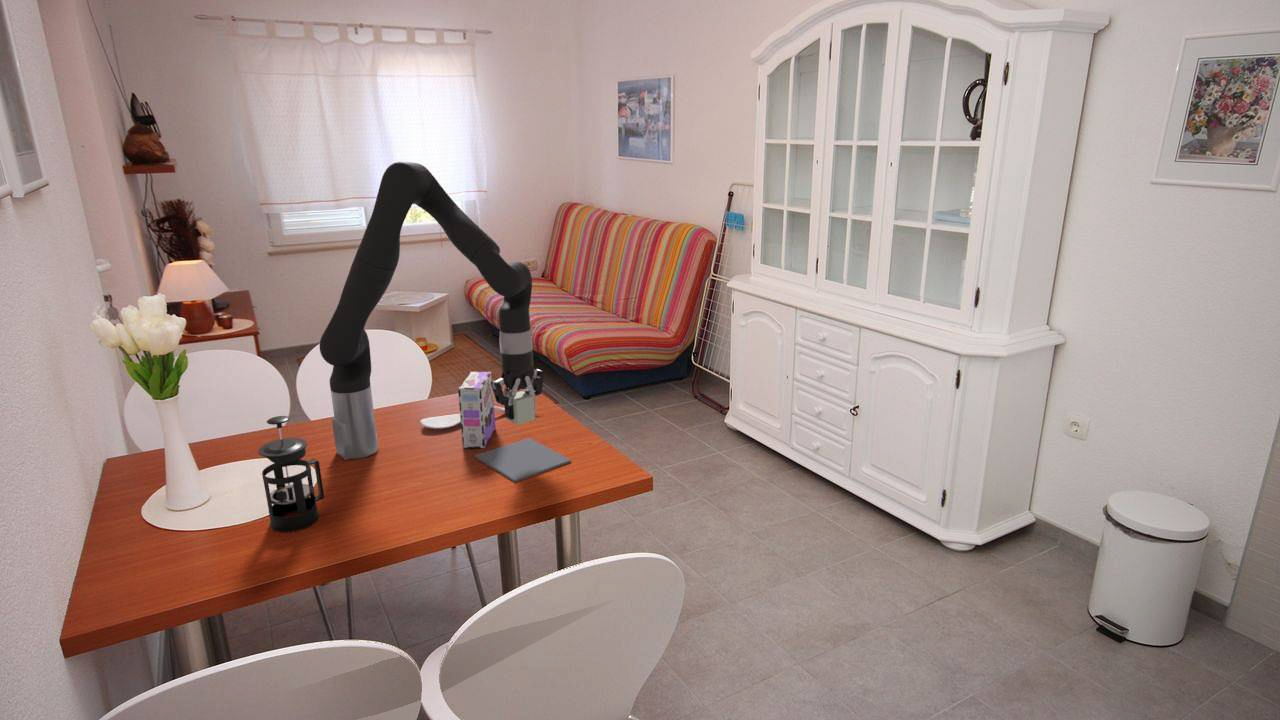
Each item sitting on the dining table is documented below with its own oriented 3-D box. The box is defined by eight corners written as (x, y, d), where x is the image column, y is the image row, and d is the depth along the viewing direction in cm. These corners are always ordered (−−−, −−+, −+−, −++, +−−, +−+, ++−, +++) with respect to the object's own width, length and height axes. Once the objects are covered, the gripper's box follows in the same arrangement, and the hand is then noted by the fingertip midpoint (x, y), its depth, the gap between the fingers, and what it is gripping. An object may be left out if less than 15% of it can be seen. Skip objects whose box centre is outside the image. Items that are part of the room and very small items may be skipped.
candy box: (485, 449, 188) (480, 388, 183) (462, 449, 188) (456, 388, 183) (496, 428, 201) (492, 370, 196) (474, 427, 201) (470, 370, 196)
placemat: (514, 482, 170) (514, 479, 170) (475, 457, 183) (475, 455, 183) (570, 462, 180) (570, 459, 180) (529, 440, 193) (529, 437, 193)
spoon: (538, 414, 211) (538, 403, 210) (425, 436, 196) (424, 424, 195) (527, 404, 218) (526, 393, 217) (417, 425, 203) (416, 413, 202)
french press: (279, 539, 147) (260, 432, 140) (258, 523, 153) (240, 420, 146) (335, 516, 155) (320, 414, 148) (314, 502, 161) (298, 404, 154)
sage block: (517, 425, 175) (516, 401, 173) (506, 419, 178) (504, 395, 177) (535, 419, 178) (534, 396, 176) (523, 413, 182) (522, 390, 180)
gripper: (532, 339, 180) (536, 404, 185) (481, 351, 171) (486, 419, 176) (550, 345, 175) (553, 412, 180) (498, 358, 166) (503, 428, 171)
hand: (520, 415), depth 178 cm, fingers closed on sage block, 5 cm apart
